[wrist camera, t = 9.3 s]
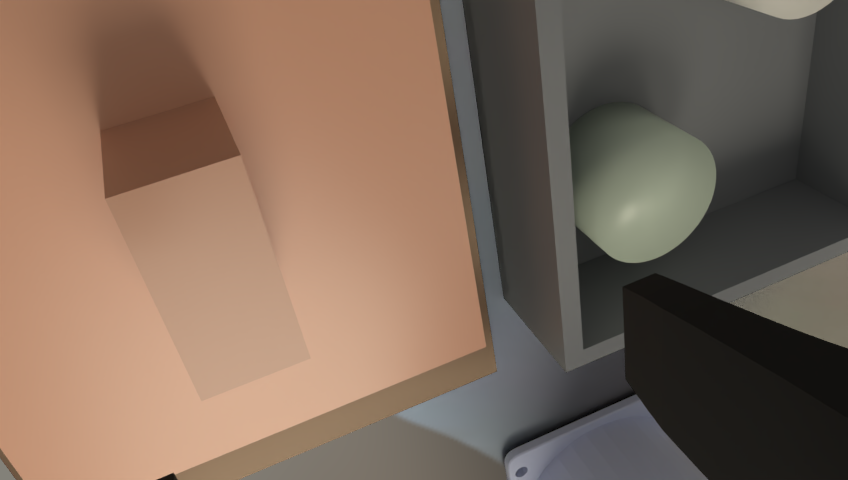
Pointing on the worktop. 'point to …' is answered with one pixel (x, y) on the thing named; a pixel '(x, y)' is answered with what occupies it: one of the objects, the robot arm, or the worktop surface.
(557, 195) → the storage box
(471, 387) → the worktop surface
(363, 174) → the lid
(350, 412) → the cutting board
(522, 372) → the worktop surface
